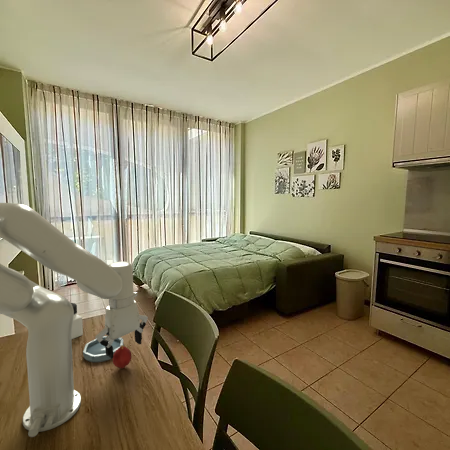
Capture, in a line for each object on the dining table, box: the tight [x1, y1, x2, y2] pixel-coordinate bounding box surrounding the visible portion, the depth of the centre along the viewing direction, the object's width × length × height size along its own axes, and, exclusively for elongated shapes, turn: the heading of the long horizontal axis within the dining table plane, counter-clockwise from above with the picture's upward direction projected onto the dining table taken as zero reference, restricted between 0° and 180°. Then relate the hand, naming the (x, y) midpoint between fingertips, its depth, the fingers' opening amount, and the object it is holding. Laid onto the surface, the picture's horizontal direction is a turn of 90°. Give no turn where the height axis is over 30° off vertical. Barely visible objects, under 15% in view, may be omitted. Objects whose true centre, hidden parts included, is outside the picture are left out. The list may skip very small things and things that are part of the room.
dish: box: [82, 335, 125, 363], centre depth 93 cm, size 13×13×2 cm
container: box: [70, 302, 84, 340], centre depth 102 cm, size 8×8×13 cm
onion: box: [112, 345, 133, 369], centre depth 84 cm, size 6×6×8 cm
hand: (124, 349), depth 84 cm, fingers open, 9 cm apart
